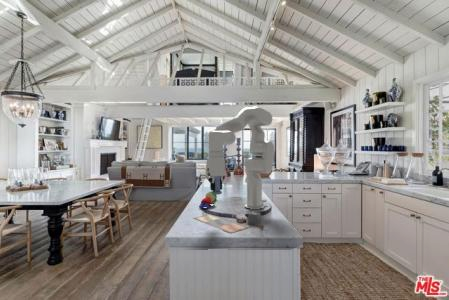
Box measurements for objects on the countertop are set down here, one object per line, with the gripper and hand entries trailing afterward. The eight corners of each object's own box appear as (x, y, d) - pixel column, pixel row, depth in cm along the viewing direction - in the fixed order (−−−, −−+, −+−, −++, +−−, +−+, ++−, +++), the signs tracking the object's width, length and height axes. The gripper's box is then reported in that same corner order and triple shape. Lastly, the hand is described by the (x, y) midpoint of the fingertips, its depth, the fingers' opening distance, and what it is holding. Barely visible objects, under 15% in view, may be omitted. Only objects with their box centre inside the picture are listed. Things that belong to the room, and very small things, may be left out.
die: (252, 220, 146) (251, 211, 145) (260, 222, 143) (260, 212, 143) (248, 223, 141) (247, 213, 141) (257, 224, 139) (256, 214, 138)
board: (209, 214, 158) (209, 214, 158) (249, 227, 134) (249, 227, 134) (192, 218, 151) (192, 218, 151) (230, 233, 126) (230, 233, 126)
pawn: (217, 191, 147) (217, 171, 146) (223, 193, 142) (223, 172, 142) (209, 193, 143) (208, 172, 143) (215, 195, 139) (214, 173, 138)
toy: (211, 214, 171) (220, 198, 182) (207, 205, 167) (217, 189, 179) (199, 212, 175) (209, 197, 186) (195, 203, 171) (206, 188, 182)
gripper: (224, 153, 150) (224, 187, 151) (198, 155, 140) (199, 190, 141) (232, 154, 144) (233, 188, 145) (206, 155, 134) (207, 192, 135)
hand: (216, 189), depth 143 cm, fingers closed on pawn, 4 cm apart
